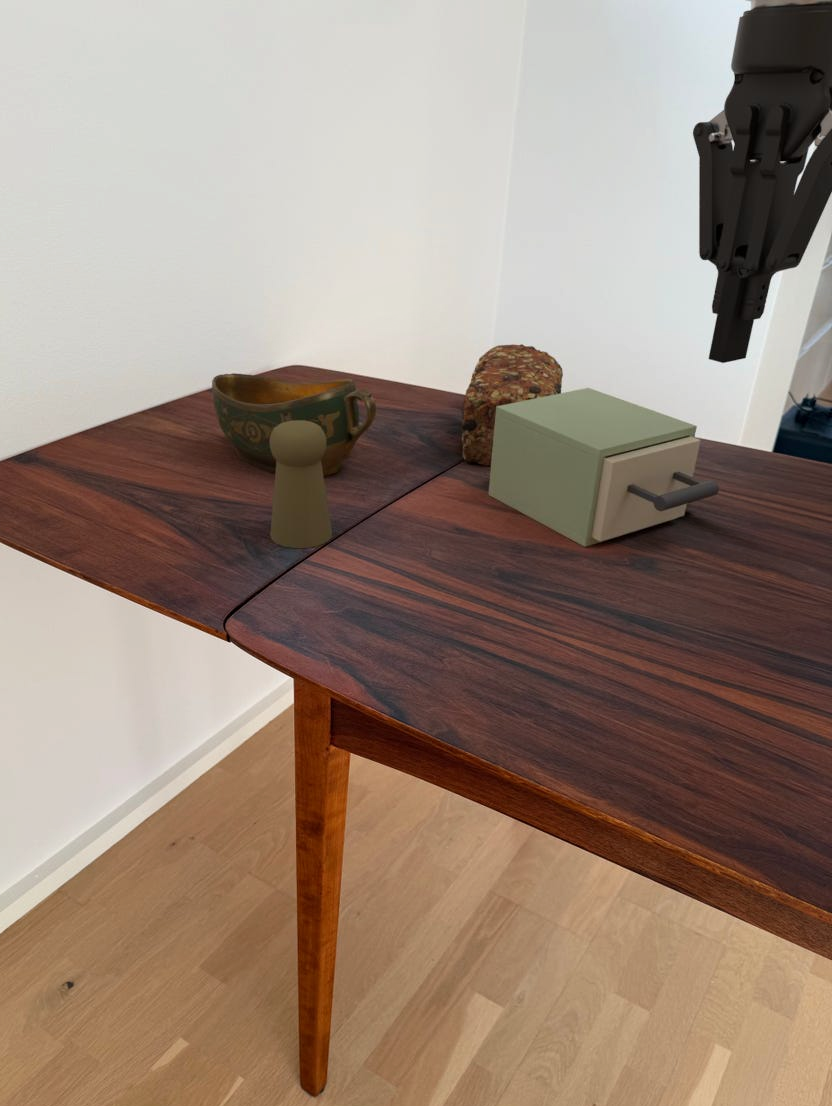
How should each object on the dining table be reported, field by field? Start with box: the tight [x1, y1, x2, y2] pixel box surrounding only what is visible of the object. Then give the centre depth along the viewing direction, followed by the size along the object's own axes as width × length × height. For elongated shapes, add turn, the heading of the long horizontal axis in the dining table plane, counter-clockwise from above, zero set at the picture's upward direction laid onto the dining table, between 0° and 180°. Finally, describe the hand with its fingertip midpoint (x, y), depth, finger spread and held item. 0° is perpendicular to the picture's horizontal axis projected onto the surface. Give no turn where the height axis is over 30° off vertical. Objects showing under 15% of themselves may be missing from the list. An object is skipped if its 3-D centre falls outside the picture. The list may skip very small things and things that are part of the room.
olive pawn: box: [269, 420, 333, 549], centre depth 83 cm, size 6×6×11 cm
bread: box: [461, 343, 564, 467], centre depth 105 cm, size 19×11×10 cm, turn 166°
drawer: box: [591, 437, 720, 543], centre depth 86 cm, size 18×11×8 cm, turn 31°
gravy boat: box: [211, 373, 377, 477], centre depth 99 cm, size 13×20×10 cm, turn 28°
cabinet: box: [487, 387, 698, 548], centre depth 89 cm, size 15×13×10 cm
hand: (727, 358), depth 72 cm, fingers closed
